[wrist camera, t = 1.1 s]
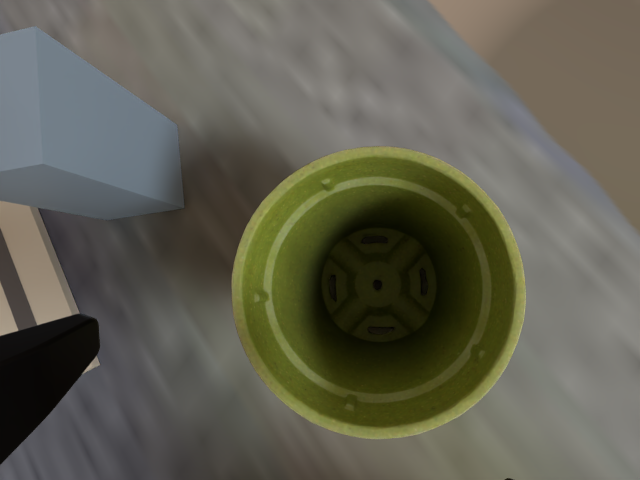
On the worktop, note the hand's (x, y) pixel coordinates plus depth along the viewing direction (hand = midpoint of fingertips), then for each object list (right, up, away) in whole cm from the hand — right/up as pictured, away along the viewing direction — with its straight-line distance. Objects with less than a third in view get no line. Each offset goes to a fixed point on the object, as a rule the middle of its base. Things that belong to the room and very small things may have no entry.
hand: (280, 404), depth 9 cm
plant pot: (+4, +1, +13) cm, 14 cm away
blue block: (-10, +7, +16) cm, 20 cm away
